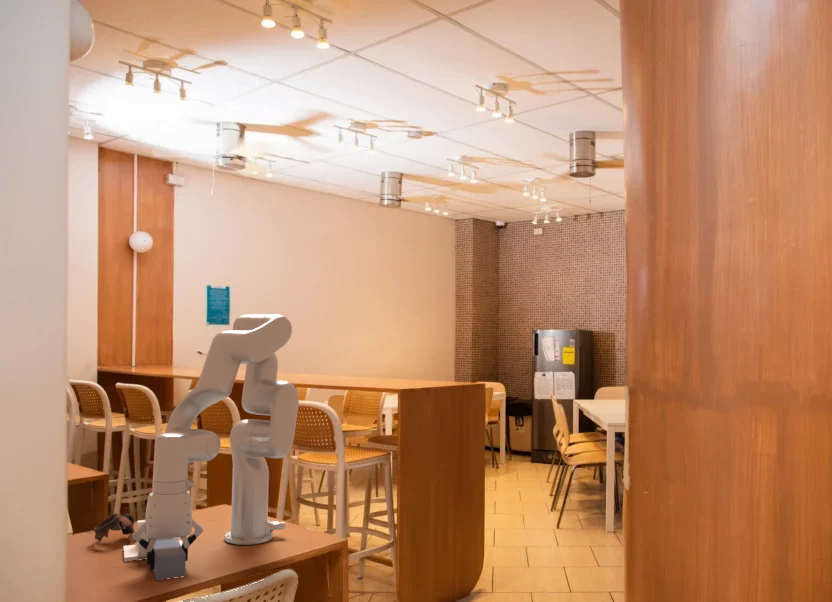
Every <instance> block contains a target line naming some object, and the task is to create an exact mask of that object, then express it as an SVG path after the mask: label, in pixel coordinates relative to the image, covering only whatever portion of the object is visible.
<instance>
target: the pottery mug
mask: <svg viewBox="0 0 832 602" xmlns="http://www.w3.org/2000/svg"><path fill="white" fill-rule="evenodd" d="M134 524H135V518H134V516H133V515H132V514H131V513H129V512H128V513H125V514H123V515H121V513H119V512H117V513H113V514H111V515H109V516H107V518H105V519H103V520H102V521H101V522H99V523H98V525H99V526H98V525H96V526H95V527H94V528H93V532H94V534H95V535H94V539H95V540H97V541H98V542H101V541H102V539H103V538H104V537H105V538H109V532H110V531H118V532H119V531H121V533H122V535H128V536H127V539H128V540H129V544H130V543H132V544H133V542H134V541H135V542H136V540H135V539H134V538H133V537H132V534H133V533H134V532H135V529H134ZM135 542H134V543H135Z"/></svg>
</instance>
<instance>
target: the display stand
mask: <svg viewBox="0 0 832 602" xmlns="http://www.w3.org/2000/svg"><path fill="white" fill-rule="evenodd" d="M144 522H145V519H142V520H141V519H140V520H137V521H136V530H137V529H138V528H139V527H140V526H141V525H142V524H143V523H144ZM141 537H142V538H144V539H145V540H146V541H147V542H148V540H149V538H147V537H146V533H145V531H144V532H143V533H142V534H141ZM164 539H174V538H164ZM164 539H157V540H164ZM178 541H179V543H180V545H181V546H182V543H183V542H182V540H181V539H180V540H178ZM135 542H136V544H130V545H129V544H128V545H123V551H124V552H123V560H124V563H127V562H128V561H129V562H134V561H133V560H138V561H140V560H139V559H145V558H147V550H146V549H145V548H143V547H142V546H141V545H140V544H139V543H138V542H137V541H136V540H135ZM129 562H128V563H129Z"/></svg>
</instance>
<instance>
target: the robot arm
mask: <svg viewBox="0 0 832 602" xmlns="http://www.w3.org/2000/svg"><path fill="white" fill-rule="evenodd" d="M292 334H293V326H292V323H291V321H290V320H289V319H288V317H286V316H284V315H281V314H260V313H258V314H257V313H255V314H252V313H251V314H243V315H239V316H238V317H236V318H235V320H234V321H233V325H232V330H225V331H220V332H218V333H216V334H215V335H214V337H213V339H212V341H211V343H210V345H209V346H210V347H209V349H208V352H207V355H206V357H205V361H204V364H203V367H202V370H201V372H200V374H199V375H200V376H199V378H198V379H199V380H198V382H197V383H196V384H195V385H196V386H195V387H193V389H191V390H190V391H189V392H188V393H187V394H186V395H185V396H184V397H183V398H182V400H180V402H179V403H178V404H177V405H176V406H175V407H174V409H173V410H172V412H171V415H170V417H169V420H168V422H167V425H166V426H165V427H166V428H165V431H164V433H161V434H158V435H157V436H156V438H155V441H154V454H153V455H154V459H153V482H152V492H150V493H149V494H148V497H147V503H146V510H145V519H144V520H145V522H144V523H143V524H142V525H141V526H140V527H139V528H138V529H137V528H136V530H134V533H133V534H132V537H133V538H134V539H135V542H136V541H137V542H138V543H139V544H140V545H141V546H142V547H143V548H145V549H146V550H147V560H146V565H147V566H149V569H150V570H152V569H154V549H153V546H154V544H155V542H156V540H157V539H164V538H180V540H182V542H183V543H182V546H181V547H182V548H183V550H184V552H185V554H186V562H188V559H189V557H188V556H189V555H188V554H189V548H190V546H191V545H193V543H194V542H195V541H196V540H197V538H199V536H200V535H201V534H202V533H203V532H204V528H203V527H202V526H201V525H200V524H199V523H198V522H197V521H196V520H194V519H193V515H192V513H193V510H192V497H191V492H190V490H189V488H191V487H193V488H194V485H195V482H194V480H189V479H188V476H189V475H188V473H189V472H188V471H189V464H190V463H206V462H209V461H211V460H213V459H214V458H215V457H216V456H217V455H218V454H219V453H220V450H221V446H222V444H221V443H222V442H221V439H220V437H219V436H218V435H217V434H216V432H213V431H211V430H206V429H197V428H192V426H193V424H194V421H195V420H196V418H197V417H198V416H199V415H200V413H202V412H203V411H204V410H205V409H207V408H209V407H210V406H212V405H215V404H217V403H218V402H221V401H223V400H225V399H227V398H228V397H229V396H230V395H231V394H232V392H233V391H232V390H233V387H234V384H235V380H236V378H237V374H238V371H239V368H240V365H243V364H245V365H246V367H245V375H244V381H243V388H242V395H241V406H242V407H241V408H242V409H243V410H244V411H245V412H246V413H248V414H253V415H258V416H259V415H260V416H270V420H265V419H255V418H248V419H247V418H246V419H242V420H239V421H238V422H236V423H235V424H234V426H232V427H231V430H230V434H229V444H230V452H231V457H232V458H231V459H232V483H231V486H232V487H231V513H230V514H231V515H230V516H231V517H230V530H229V531H227V532H226V533H225V534H224V541H225V542H227V543H228V544H232V545H238V546H239V545H240V546H243V545H244V546H248V545H258V544H262V543H263V544H264V543H267V542H269V541H271V540H272V539H273V538H274V533H273V532H274V531H276V530H278V531H280V530H285V529H286V522H285V521H282V522H281V521H280V522H279V521H278V520H277V521H271V520H270V519H269V518H268V516H269V515H268V513H269V512H268V511H269V487H270V486H269V484H270V483H269V481H270V472H269V471H270V470H269V466H268V463H267V459H266V458H270V459H283V458H285V457H286V456H288V454H290V451H291V450H292V448H293V444H294V440H295V434H296V426H297V418H298V411H299V402H300V400H299V392H298V389H297V388H296V386H295V385H294V384H293V383H291V382H289V381H287V380H278V379H277V378H278V367H279V361H278V357H277V354H276V352H277V351H279V350H280V349H282V348H283V347H284V346H286V345H287V343H288V342H289V340H290V339H291V336H292ZM192 529H194V531H193V533H192ZM144 531H145V533H146V537H147V538H149V540H148V542H147V541H146V540H145V539H144V538H142V537H141V534H142V533H143V532H144ZM152 571H153V570H152Z"/></svg>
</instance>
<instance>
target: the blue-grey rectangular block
mask: <svg viewBox="0 0 832 602" xmlns="http://www.w3.org/2000/svg"><path fill="white" fill-rule="evenodd" d="M179 541H180V540H179V539H178V537H175V538H174V539H164V540H156V542H155V544H154V546H153V549H154V569H153V570H152V572H153V571H154V573H153V575H154V574H155V575H154V577H156V578H155V581H156V580H161V579H167V578H174V577H181V576H185V577H186V562H187V561H186V554H185V552H184V550H183V548H182V547H181V545H180V543H179ZM161 581H162V580H161Z"/></svg>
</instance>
